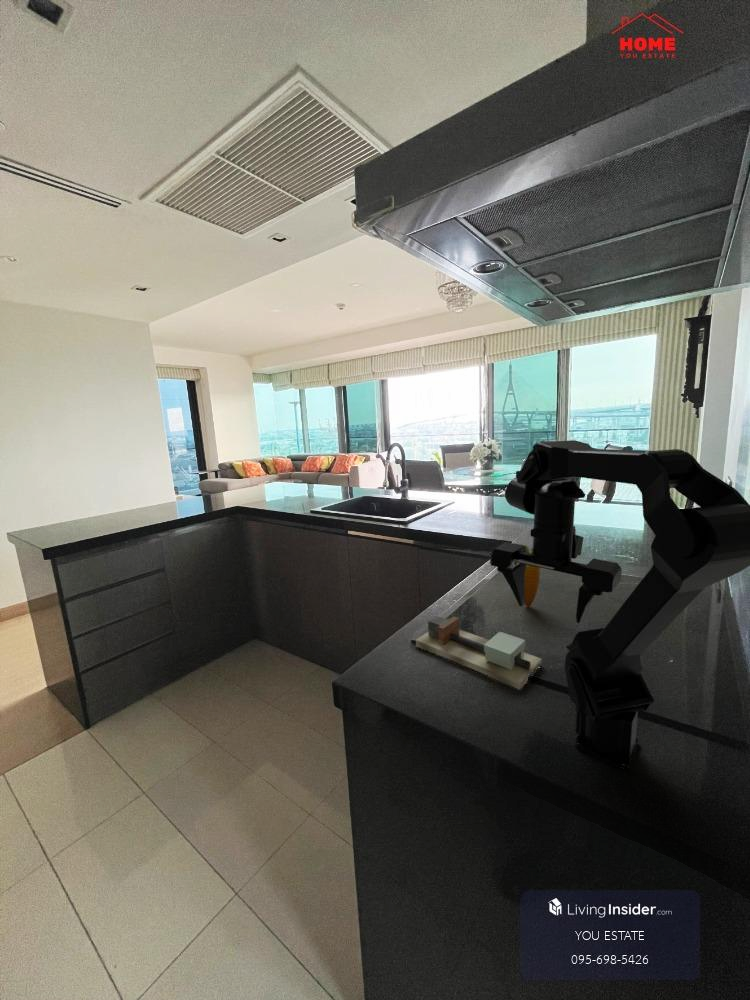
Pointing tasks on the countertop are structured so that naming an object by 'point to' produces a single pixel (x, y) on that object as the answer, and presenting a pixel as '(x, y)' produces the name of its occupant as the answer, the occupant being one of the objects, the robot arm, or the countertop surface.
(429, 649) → the board
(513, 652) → the pale green slider block
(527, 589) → the carrot
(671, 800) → the countertop surface
